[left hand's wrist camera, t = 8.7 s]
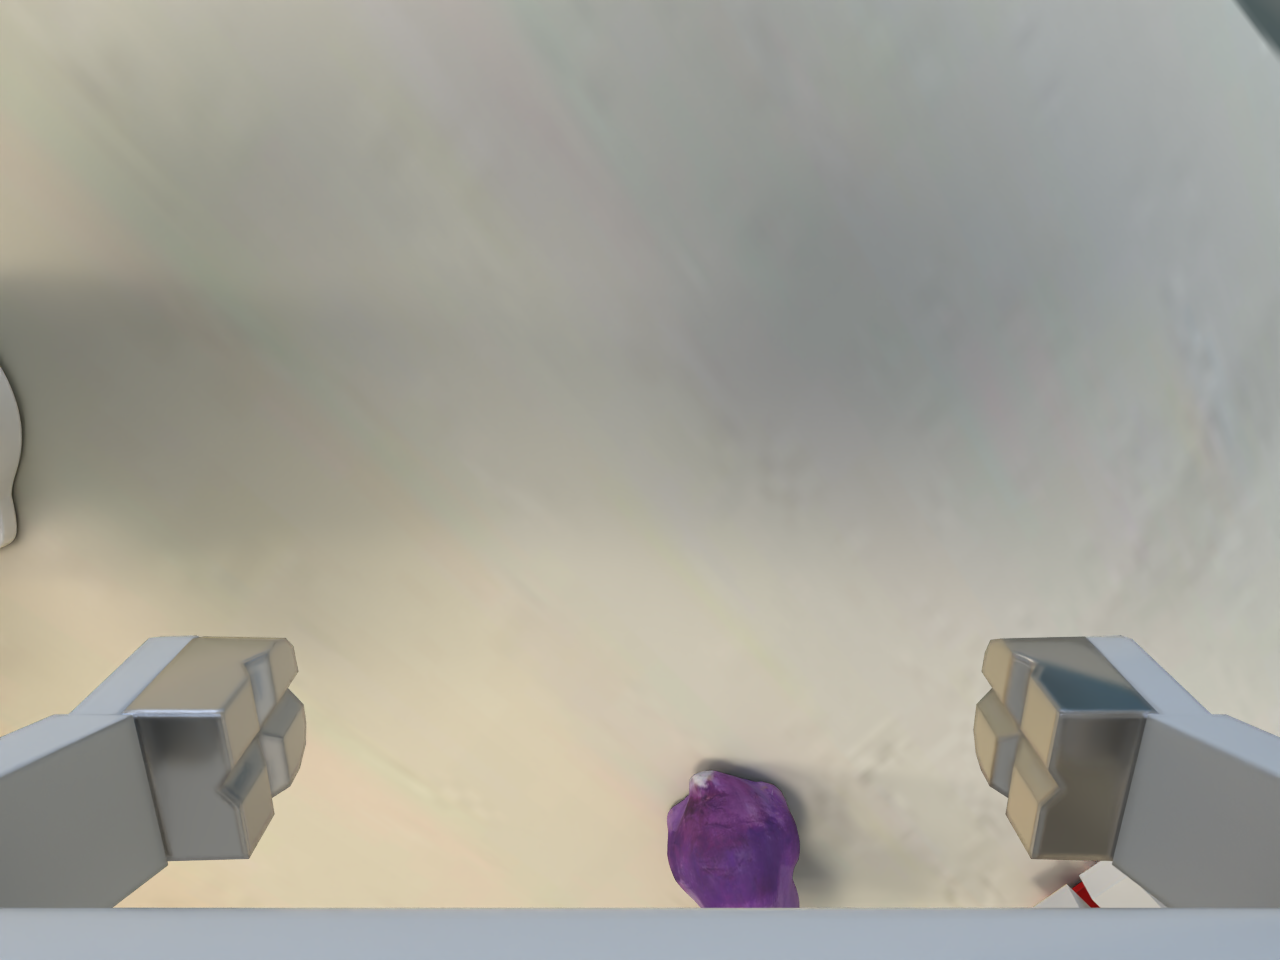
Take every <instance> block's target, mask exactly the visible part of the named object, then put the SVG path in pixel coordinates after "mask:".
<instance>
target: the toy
mask: <svg viewBox="0 0 1280 960" xmlns="http://www.w3.org/2000/svg"><path fill="white" fill-rule="evenodd" d="M1112 862H1113V861H1100V862H1098V863H1097V864H1095V865H1094V866H1092V867H1091V868H1089V869H1088V870H1086V871H1085V872H1083V873H1082V874H1080V875H1079V876H1080V878H1081V880H1082V882H1080V883H1079V884H1078V885H1076V886H1075V887H1073V888H1072V889H1071V888H1070V887H1069V886H1068V885H1067V884H1066V885H1064V886H1063V887H1061V888H1060V889H1058V890H1057V891H1055V892H1054V893H1052V894H1051V895H1050V896H1048V897H1047V898H1045V899H1044V900H1042V901H1041V902H1039V903H1038V904H1036V905H1035V906H1033V908H1168V907H1166V906H1165V905H1164V904H1162V903H1161V902H1160V901H1159V900H1157V899H1156V898H1155V897H1153V896H1152V895H1151V894H1149V893H1148V892H1147V891H1145V890H1144V889H1143V888H1142V887H1140V886H1139V885H1138V884H1136V883H1135V882H1134V881H1132V880H1131V879H1130V878H1129V877H1127V876H1126V875H1125V874H1123V873H1122V872H1121V871H1119V870H1118V869H1117V868H1116V867H1114V866H1113V865H1112Z"/></svg>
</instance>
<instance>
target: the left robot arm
mask: <svg viewBox="0 0 1280 960" xmlns="http://www.w3.org/2000/svg"><path fill="white" fill-rule="evenodd" d="M21 447H22V428H21V420H20V415H19V410H18V406H17V403H16V399H15V396H14V394H13V391H12V388H11V386H10V384H9V382H8V379H7V378H6V376H5V374H4V372H3V370H2V368H1V367H0V548H1V547H4V546H6V545H8V544H10V543H11V542H12V541H13V540H14V539H15V537H16V532H17V523H16V515H15V509H14V504H13V499H12V486H13V481H14V478H15V474H16V471H17V468H18V464H19V460H20V455H21ZM297 673H298V667H297V662H296V657H295V651H294V647H293V645H292V644H291V643H290V642H289V641H288V640H287V639H286V638H261V637H208V636H203V637H199V636H160V637H153V638H149V639H148V640H147V641H146V642H144V643H143V644H142V645H141V646H140V647H139V648H138V649H137V650H136V651H135V652H134V653H133V654H132V655H131V656H130V657H129V658H128V659H127V660H125V661H124V662H123V663H122V664H121V665H120V666H119V667H118V668H117V669H116V670H115V671H114V672H113V673H112V674H111V675H110V676H109V677H107V678H106V679H105V680H104V681H103V682H102V683H101V684H100V685H99V686H98V687H97V688H96V689H95V690H94V691H93V692H92V693H91V694H90V695H88V696H87V697H86V698H85V699H84V700H83V701H82V702H81V703H80V704H79V705H78V706H77V707H76V708H75V709H74V710H73V711H72V712H70V713H69V714H68V715H52V716H49V717H47V718H45V719H42V720H40V721H38V722H35V723H33V724H31V725H28V726H26V727H23V728H21V729H19V730H16V731H14V732H12V733H9V734H7V735H5V736H2V737H0V960H1280V737H1278V736H1275V735H1273V734H1271V733H1268V732H1266V731H1264V730H1261V729H1259V728H1256V727H1254V726H1252V725H1249V724H1247V723H1245V722H1242V721H1240V720H1238V719H1235V718H1233V717H1231V716H1228V715H1212V714H1211V713H1210V712H1209V711H1207V710H1206V709H1205V708H1204V707H1203V706H1202V705H1201V704H1200V703H1199V702H1198V701H1197V700H1196V699H1195V698H1194V697H1193V696H1192V695H1191V694H1190V693H1189V692H1187V691H1186V690H1185V689H1184V688H1183V687H1182V686H1181V685H1180V684H1179V683H1178V682H1177V681H1176V680H1175V679H1174V678H1173V677H1172V676H1171V675H1170V674H1168V673H1167V672H1166V671H1165V670H1164V669H1163V668H1162V667H1161V666H1160V665H1159V664H1158V663H1157V662H1156V661H1155V660H1154V659H1153V658H1152V657H1151V656H1150V655H1148V654H1147V653H1146V652H1145V651H1144V650H1143V649H1142V648H1141V647H1140V646H1139V645H1138V644H1137V643H1136V642H1135V641H1134V640H1133V639H1130V638H1127V637H1124V636H1121V635H1116V636H1092V637H1047V638H1006V639H994V640H990V642H989V645H988V647H987V649H986V651H985V655H984V660H983V666H982V673H983V674H984V676H985V678H986V679H987V681H988V682H989V684H990V685H991V687H992V689H991V690H990V691H989V692H988V693H987V694H986V695H985V696H984V697H983V698H982V699H981V700H980V701H979V702H978V703H977V704H976V712H975V720H974V729H973V730H974V740H975V750H976V755H977V759H978V762H979V765H980V768H981V771H982V773H983V775H984V776H985V778H986V780H987V782H988V784H989V786H990V787H992V788H993V789H995V790H997V791H998V792H1000V793H1001V794H1003V795H1004V796H1006V797H1007V798H1008V802H1007V808H1006V816H1007V818H1008V819H1009V821H1010V823H1011V825H1012V826H1013V828H1014V830H1015V832H1016V833H1017V835H1018V837H1019V838H1020V840H1021V842H1022V844H1023V845H1024V847H1025V849H1026V851H1027V852H1028V854H1029V856H1030V858H1031V859H1054V860H1090V861H1113V862H1112V865H1113V866H1114V867H1116V868H1117V869H1118V870H1119V871H1121V872H1122V873H1123V874H1125V875H1126V876H1127V877H1129V878H1130V879H1131V880H1132V881H1134V882H1135V883H1136V884H1138V885H1139V886H1140V887H1142V888H1143V889H1144V890H1145V891H1147V892H1148V893H1149V894H1151V895H1152V896H1153V897H1155V898H1156V899H1157V900H1159V901H1160V902H1161V903H1162V904H1164V905H1165V906H1166V907H1168V908H113V907H114V906H115V905H117V904H118V903H119V902H120V901H122V900H123V899H124V898H126V897H127V896H128V895H130V894H131V893H132V892H134V891H135V890H136V889H137V888H139V887H140V886H141V885H143V884H144V883H145V882H147V881H148V880H149V879H150V878H152V877H153V876H154V875H156V874H157V873H158V872H160V871H161V870H162V869H164V868H165V867H166V866H167V865H168V862H167V861H189V860H224V859H249V858H250V856H251V854H252V853H253V851H254V849H255V847H256V846H257V844H258V842H259V840H260V839H261V837H262V835H263V833H264V832H265V830H266V828H267V826H268V825H269V823H270V821H271V819H272V818H273V816H274V808H273V802H272V798H273V797H274V796H276V795H277V794H279V793H280V792H282V791H283V790H285V789H287V788H288V787H290V786H291V784H292V782H293V780H294V778H295V776H296V774H297V773H298V771H299V769H300V766H301V761H302V757H303V753H304V749H305V745H306V718H305V711H304V704H303V703H302V702H301V701H300V700H299V699H298V698H297V697H296V696H295V695H294V694H293V693H292V692H291V691H290V690H289V689H288V687H289V685H290V684H291V682H292V681H293V679H294V678H295V676H296V674H297Z"/></svg>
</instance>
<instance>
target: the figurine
mask: <svg viewBox="0 0 1280 960" xmlns="http://www.w3.org/2000/svg"><path fill="white" fill-rule="evenodd" d="M667 826H668V851H667V855H668V861H669V865H670V868H671V871H672V873H673V876H674V878H675V880H676V882H677V883H678V884H679V885H680V886H681V888H682V889H683V890H684V891H685V892H686V893H687V894H688V895H689V896H690V897H691V898H692V899H694V900H695V902H696V903H697V904H698V905H699V906H700V907H701V908H799V897H798V893H797V890H796V887H795V884H794V881H793V879H792V876H793V870H794V867H795V865H796V863H797V861H798V859H799V854H800V841H799V835H798V831H797V827H796V824H795V821H794V819H793V817H792V815H791V813H790V811H789V809H788V807H787V803H786V800H785V798H784V796H783V794H782V792H781V790H779V789H778V788H777V787H776V786H775V785H774V784H770V783H766V782H762V781H760V782H754V781H750V780H746V779H743V778H739V777H736V776H732V775H728V774H725V773H721V772H718V771H713V770H710V771H702V772H699V773H696V774H694V775H693V776H692V777H691V779H690V780H689V795H688V796H687V797H686V798H685V799H684V800H682V801H681V802H680V803H678V804H677V805H675V806H674V807H672V809H671V810H670V811H669V813H668V816H667Z"/></svg>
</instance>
